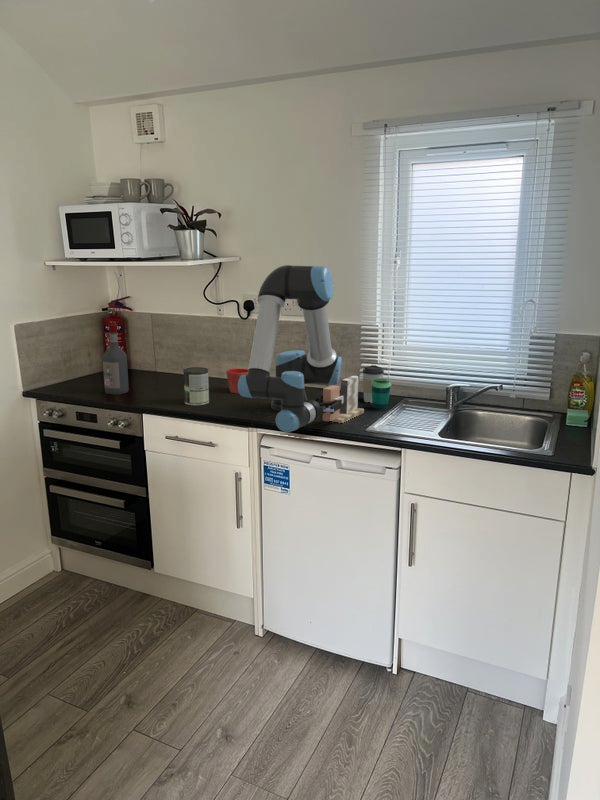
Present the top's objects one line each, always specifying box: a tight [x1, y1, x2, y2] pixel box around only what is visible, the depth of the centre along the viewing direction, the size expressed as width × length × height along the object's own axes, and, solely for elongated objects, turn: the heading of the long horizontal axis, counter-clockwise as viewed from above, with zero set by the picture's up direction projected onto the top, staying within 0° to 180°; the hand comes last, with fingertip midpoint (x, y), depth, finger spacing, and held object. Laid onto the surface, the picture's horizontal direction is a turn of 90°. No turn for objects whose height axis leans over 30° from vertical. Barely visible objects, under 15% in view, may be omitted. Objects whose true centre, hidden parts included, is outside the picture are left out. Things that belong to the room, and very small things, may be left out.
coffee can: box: [182, 366, 210, 406], centre depth 257 cm, size 10×10×14 cm
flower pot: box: [226, 368, 248, 394], centre depth 277 cm, size 11×11×10 cm
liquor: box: [102, 324, 130, 396], centre depth 271 cm, size 9×9×30 cm
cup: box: [371, 377, 392, 410], centre depth 251 cm, size 8×8×12 cm
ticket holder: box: [331, 375, 365, 424], centre depth 238 cm, size 19×8×14 cm, turn 149°
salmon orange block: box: [322, 385, 341, 422], centre depth 228 cm, size 7×3×12 cm, turn 150°
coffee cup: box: [362, 364, 385, 404], centre depth 262 cm, size 9×9×15 cm
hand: (337, 398), depth 232 cm, fingers closed on salmon orange block, 3 cm apart
